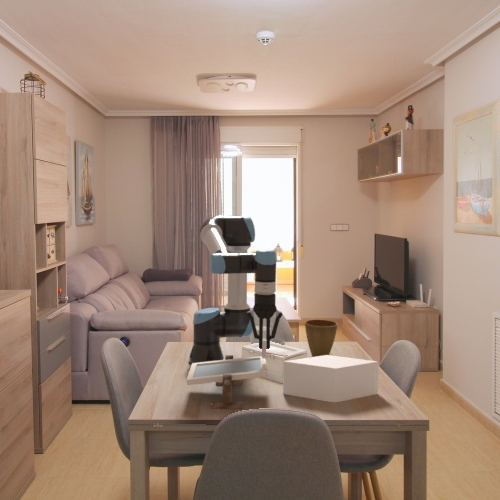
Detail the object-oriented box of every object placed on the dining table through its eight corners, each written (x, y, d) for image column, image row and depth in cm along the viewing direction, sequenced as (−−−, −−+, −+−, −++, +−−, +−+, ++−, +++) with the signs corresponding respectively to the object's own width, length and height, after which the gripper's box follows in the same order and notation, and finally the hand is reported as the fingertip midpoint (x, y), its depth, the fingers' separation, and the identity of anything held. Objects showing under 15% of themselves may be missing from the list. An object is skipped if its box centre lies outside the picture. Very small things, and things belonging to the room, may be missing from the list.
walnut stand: (212, 408, 177) (212, 376, 176) (216, 382, 204) (216, 354, 204) (241, 408, 177) (241, 377, 177) (241, 382, 204) (242, 355, 204)
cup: (274, 359, 237) (274, 337, 237) (288, 363, 232) (288, 341, 231) (262, 363, 232) (262, 340, 231) (275, 367, 226) (275, 344, 225)
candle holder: (263, 357, 241) (264, 331, 240) (245, 353, 246) (245, 328, 246) (274, 352, 250) (274, 327, 249) (256, 349, 255) (256, 324, 254)
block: (280, 386, 201) (281, 354, 200) (371, 386, 202) (372, 355, 202) (285, 403, 184) (285, 368, 183) (384, 403, 185) (385, 368, 184)
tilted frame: (186, 386, 180) (186, 380, 179) (192, 367, 201) (192, 362, 201) (268, 377, 180) (267, 372, 180) (265, 360, 201) (265, 355, 201)
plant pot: (300, 359, 239) (300, 324, 237) (309, 351, 252) (310, 318, 251) (332, 362, 233) (333, 327, 232) (339, 354, 247) (340, 321, 246)
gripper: (247, 294, 185) (246, 360, 186) (284, 294, 185) (282, 360, 187) (246, 291, 192) (246, 354, 194) (282, 291, 192) (281, 354, 194)
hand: (264, 357), depth 190 cm, fingers closed
